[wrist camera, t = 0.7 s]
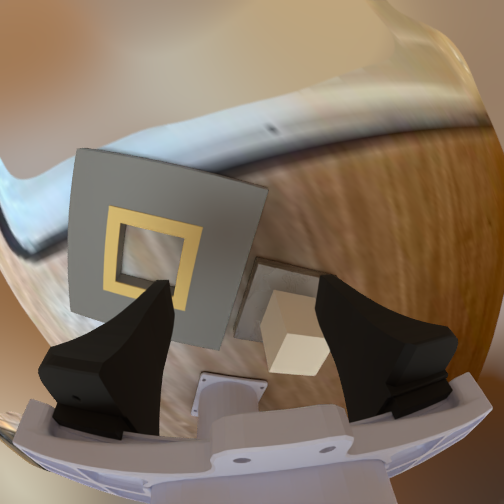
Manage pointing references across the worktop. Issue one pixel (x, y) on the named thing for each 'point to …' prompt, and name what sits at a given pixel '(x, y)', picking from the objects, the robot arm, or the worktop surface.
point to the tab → (261, 288)
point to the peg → (293, 335)
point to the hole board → (164, 221)
